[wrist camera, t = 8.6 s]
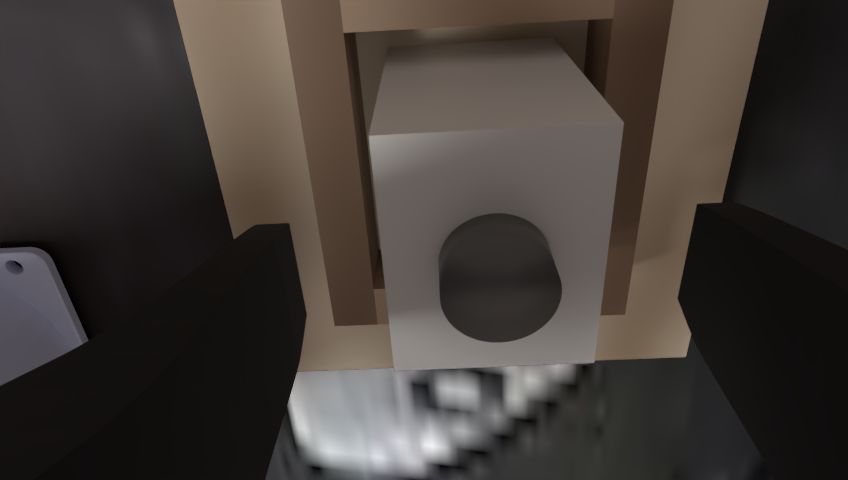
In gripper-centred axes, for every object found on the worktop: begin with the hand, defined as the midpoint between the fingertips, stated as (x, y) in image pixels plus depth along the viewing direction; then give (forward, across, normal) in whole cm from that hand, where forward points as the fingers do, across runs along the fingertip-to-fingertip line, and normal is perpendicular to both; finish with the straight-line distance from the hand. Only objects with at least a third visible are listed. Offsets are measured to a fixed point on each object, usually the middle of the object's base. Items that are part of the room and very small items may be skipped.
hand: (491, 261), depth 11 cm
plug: (+6, 0, 0) cm, 6 cm away
